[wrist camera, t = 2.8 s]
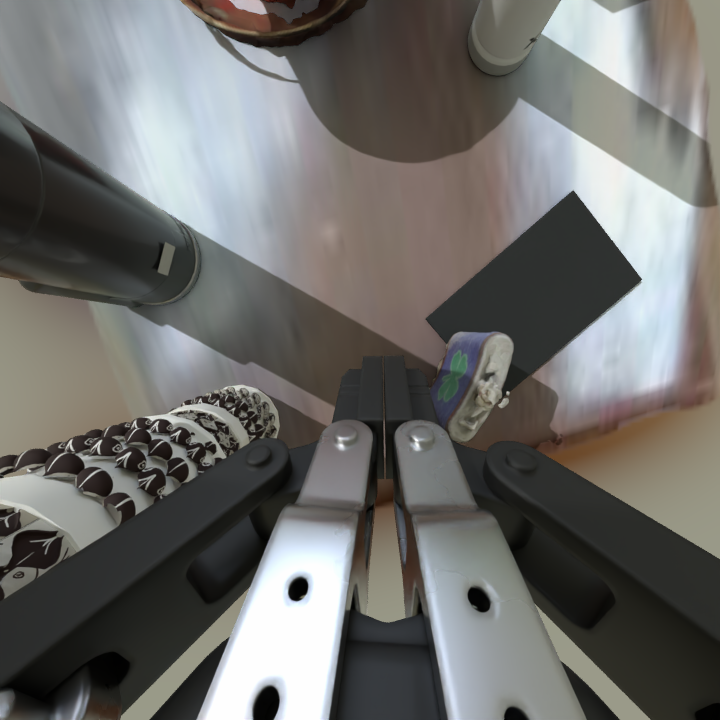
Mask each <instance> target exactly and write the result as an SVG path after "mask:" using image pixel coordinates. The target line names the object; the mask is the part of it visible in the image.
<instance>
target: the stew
mask: <svg viewBox="0 0 720 720" xmlns="http://www.w3.org/2000/svg"><path fill="white" fill-rule="evenodd" d="M180 1H181V2H182V3H183V4H184V5H186V6H187V7H188V8H189V9H190V10H191V11H192V12H193V13H194V14H195V15H196V16H198V17H199V18H201V19H202V20H203V21H205V22H206V23H207V24H210V25H212V26H214V27H216V28H218V29H219V30H220V31H221V32H222V33H224V34H225V35H227V36H230V37H231V38H234V39H236V40H238V41H241V42H245V43H250V44H252V45H253V46H256V47H260V46H268V47H282V46H294V45H299V44H301V43H302V42H304V41H306V40H307V39H309V38H311V37H314V36H320V35H322V34H324V33H325V32H326V31H328V30H329V29H331V28H332V26H333V24H335V23H339V22H341V21H343V20H345V19H347V18H348V17H349V16H350V15H351V14H352V13H353V12H354V11H355V10H357V9H360V8H363V7H364V6H365V4H366V3H367V1H368V0H320V1H319V4H318V8H317V9H315V10H314V11H312V12H309V13H307V14H305V13H304V12H303V13H302V16H301V17H300V18H296V19H293V21H292V23H291V24H287V22H286V21H285V20H284V19H283V18H280V17H278V16H277V15H276V14H274V13H269V14H264V15H260V14H256V13H252V12H248V11H246V10H241V9H238V8H236V7H235V6H234V5H233V4H232V3H231V2H230V1H229V0H180ZM264 1H266V2H269V3H270V2H272V3H274V2H279V3H284V4H285V5H287V6H288V7H289V8H291V9H292V8H293V7H294V6H295V0H264Z"/></svg>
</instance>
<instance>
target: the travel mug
mask: <svg viewBox="0 0 720 720" xmlns="http://www.w3.org/2000/svg"><path fill="white" fill-rule="evenodd" d="M560 1H561V0H480V3H479V6H478V9H477V12H476V14H475V17H474V19H473V22H472V25H471V28H470V31H469V35H468V49H469V53H470V56H471V58H472V60H473V62H474V63H475V65H476V66H477V67H478V68H479V69H480V70H482V71H483V72H485V73H487V74H491V75H497V76H500V75H505V74H508V73H511V72H512V71H514V70H516V69H517V68H518V67H519V66H520V65H521V64H522V63H523V62H524V60H525V59H526V57H527V55H528V54H529V52H530V51H531V49H532V47H533V45H534V43H535V42H536V41H537V39H538V37H539V36H540V34H541V32H542V31H543V29H544V27H545V26H546V24H547V22H548V21H549V19H550V17H551V16H552V14H553V12H554V11H555V9H556V7H557V6H558V4H559V2H560Z"/></svg>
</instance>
